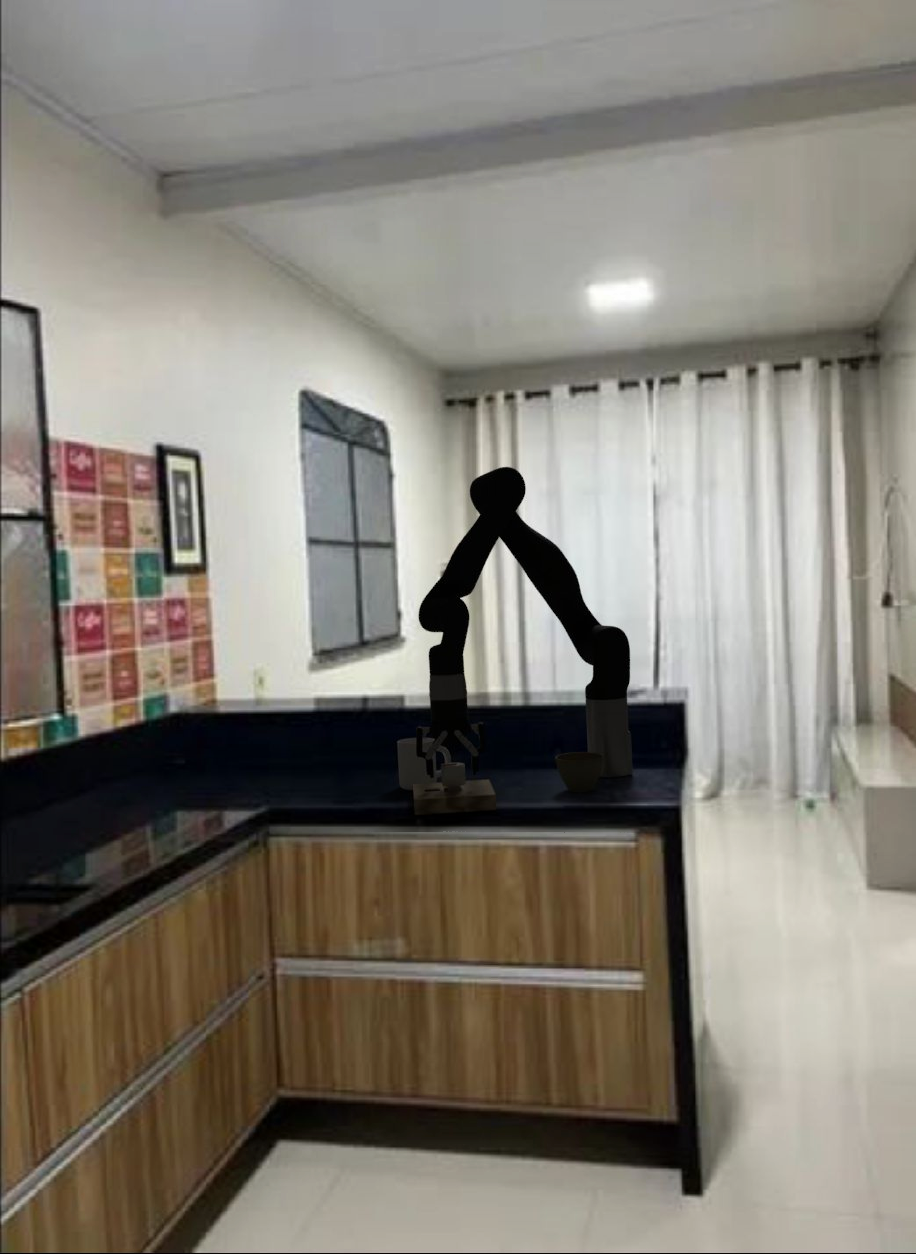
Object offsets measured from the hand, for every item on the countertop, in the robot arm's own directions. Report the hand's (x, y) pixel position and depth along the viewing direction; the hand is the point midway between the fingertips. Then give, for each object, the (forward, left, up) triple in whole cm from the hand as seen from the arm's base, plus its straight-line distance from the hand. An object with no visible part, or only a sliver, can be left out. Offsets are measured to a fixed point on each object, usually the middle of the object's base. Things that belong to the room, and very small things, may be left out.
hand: (452, 775), depth 222 cm
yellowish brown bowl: (-27, -6, -6) cm, 28 cm away
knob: (0, 0, -6) cm, 6 cm away
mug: (+5, -21, -6) cm, 23 cm away
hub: (0, 0, -6) cm, 6 cm away
